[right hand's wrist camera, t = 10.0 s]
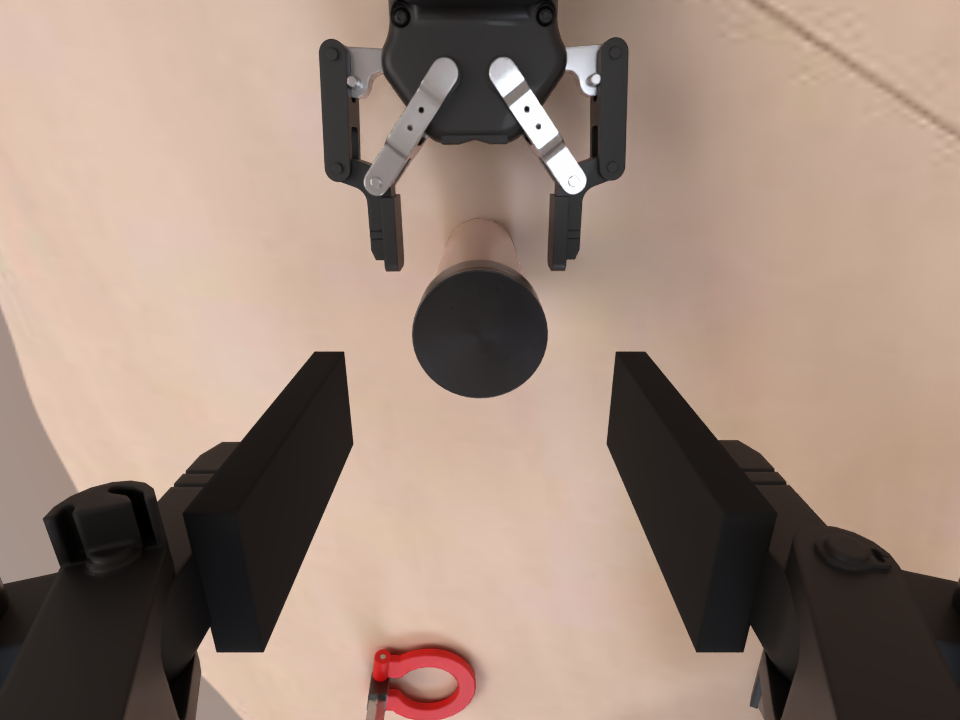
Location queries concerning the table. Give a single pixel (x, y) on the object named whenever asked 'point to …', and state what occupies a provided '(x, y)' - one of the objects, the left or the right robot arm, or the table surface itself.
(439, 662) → the tow hook
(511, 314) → the lid
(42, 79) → the table surface
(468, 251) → the bottle
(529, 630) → the table surface
